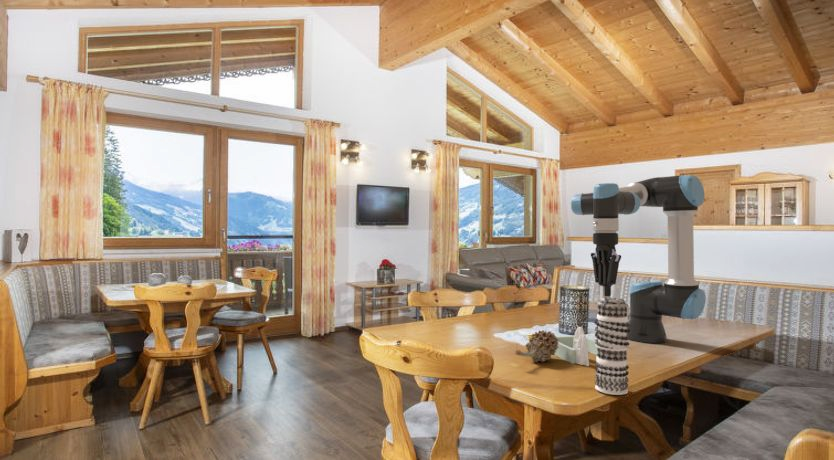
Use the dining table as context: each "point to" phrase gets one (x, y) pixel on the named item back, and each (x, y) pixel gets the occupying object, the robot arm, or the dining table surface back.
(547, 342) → the pine cone
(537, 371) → the dining table surface
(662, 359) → the dining table surface
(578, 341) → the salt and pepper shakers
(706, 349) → the dining table surface
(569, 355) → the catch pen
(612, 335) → the decorative candle
